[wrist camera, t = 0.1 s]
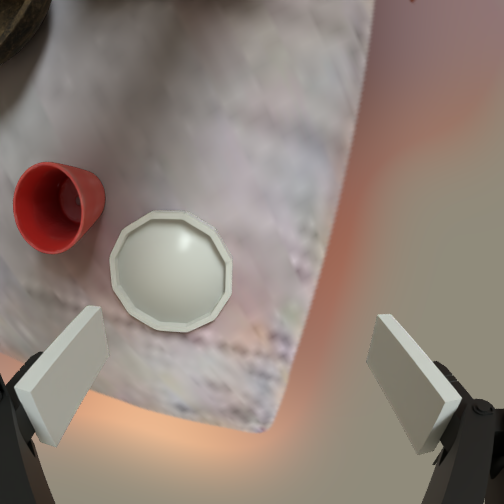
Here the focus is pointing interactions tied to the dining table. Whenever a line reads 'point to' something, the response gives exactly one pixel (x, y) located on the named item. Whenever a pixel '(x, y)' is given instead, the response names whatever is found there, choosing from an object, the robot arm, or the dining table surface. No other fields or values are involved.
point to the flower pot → (56, 205)
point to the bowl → (19, 24)
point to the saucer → (171, 271)
